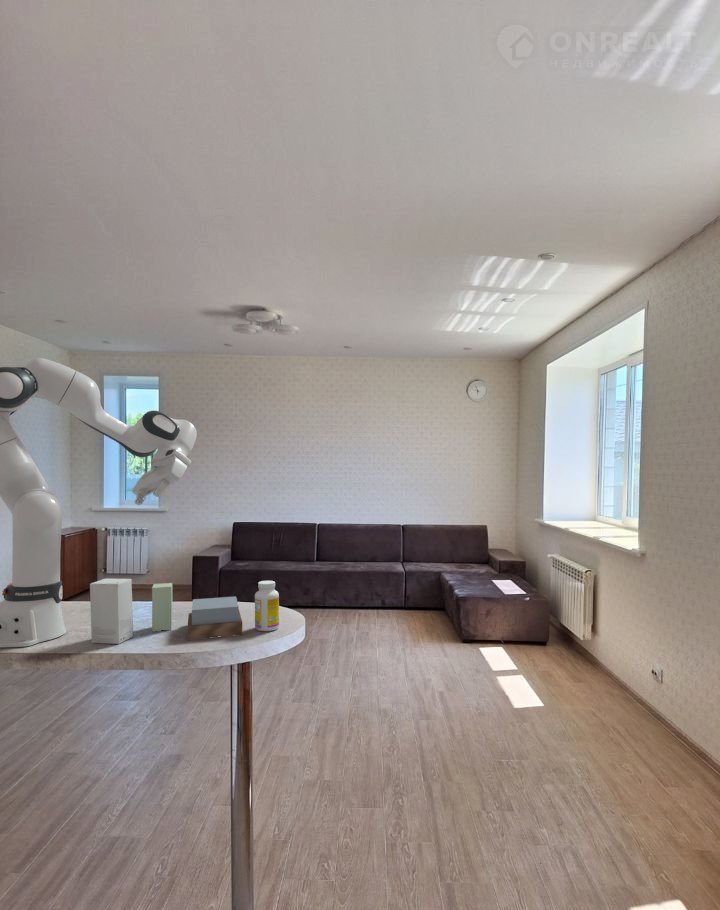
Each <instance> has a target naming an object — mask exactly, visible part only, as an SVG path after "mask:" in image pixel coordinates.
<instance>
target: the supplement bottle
mask: <svg viewBox="0 0 720 910" xmlns="http://www.w3.org/2000/svg"><path fill="white" fill-rule="evenodd" d="M257 584H258V586H257V587H258V591H256V592H255V594H254V628H255V630H257V631H259V632H271V631H272V632H273V631H276V630H277V629H279V627H280V595H279V591H277V590H276V589H275V588H276V582H275V581H273V580H261V581H259V582H257Z"/></svg>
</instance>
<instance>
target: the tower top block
mask: <svg viewBox="0 0 720 910" xmlns="http://www.w3.org/2000/svg"><path fill="white" fill-rule="evenodd" d="M191 605H192V606H191V607H192V608H191V613H192V625H203V624H215V623H227V622H239V612H240V609H239V603H238V598H237V596H222V597H213V598H212V597H211V598H210V597H209V598H208V597H207V598H195V599H194V598H193V599H192V604H191Z"/></svg>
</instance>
